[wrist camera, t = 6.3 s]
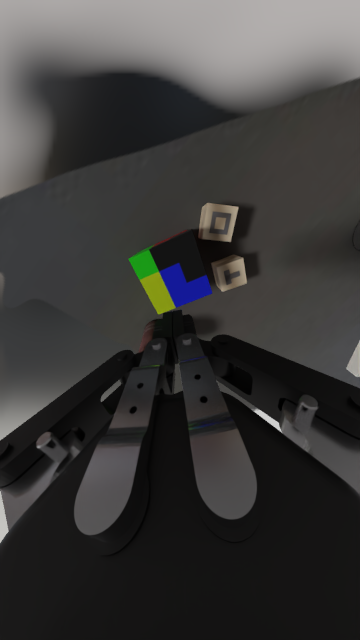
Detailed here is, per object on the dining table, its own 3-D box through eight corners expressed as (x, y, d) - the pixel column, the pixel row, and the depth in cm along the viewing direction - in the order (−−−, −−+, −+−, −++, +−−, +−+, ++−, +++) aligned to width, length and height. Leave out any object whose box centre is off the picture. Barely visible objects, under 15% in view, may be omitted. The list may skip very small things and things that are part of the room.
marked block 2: (233, 254, 33) (243, 258, 29) (237, 276, 36) (247, 283, 31) (210, 262, 34) (216, 267, 29) (216, 284, 36) (222, 292, 32)
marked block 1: (228, 210, 29) (239, 206, 25) (222, 240, 32) (231, 242, 27) (202, 207, 29) (207, 202, 24) (197, 237, 31) (202, 239, 27)
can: (156, 314, 39) (149, 351, 27) (173, 330, 42) (174, 371, 29) (139, 328, 41) (126, 369, 29) (156, 342, 43) (151, 386, 31)
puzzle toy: (202, 277, 35) (212, 293, 27) (161, 294, 37) (158, 314, 28) (186, 230, 31) (192, 229, 22) (139, 251, 32) (128, 259, 23)
